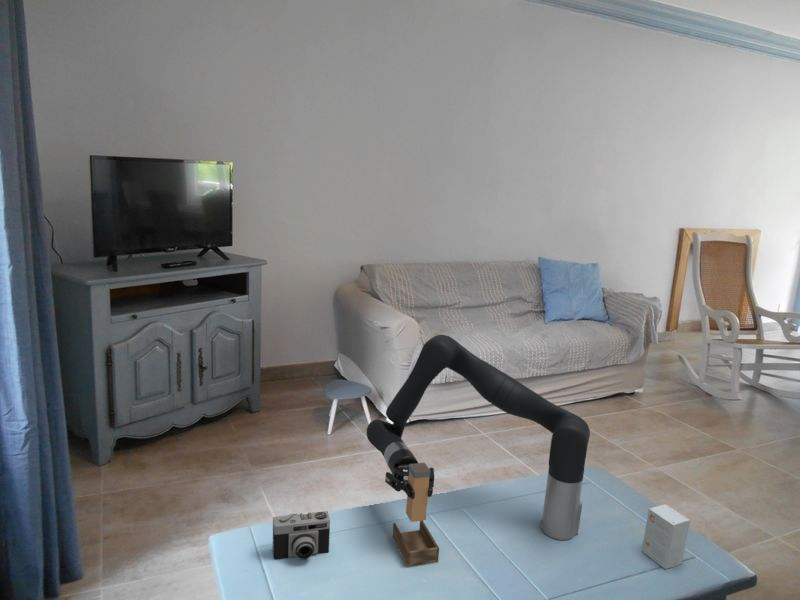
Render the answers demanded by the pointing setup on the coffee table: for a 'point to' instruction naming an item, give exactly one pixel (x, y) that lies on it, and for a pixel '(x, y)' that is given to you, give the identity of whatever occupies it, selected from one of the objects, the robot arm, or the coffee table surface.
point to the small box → (665, 536)
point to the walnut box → (416, 546)
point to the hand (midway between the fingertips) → (421, 494)
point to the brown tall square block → (418, 491)
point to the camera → (301, 535)
